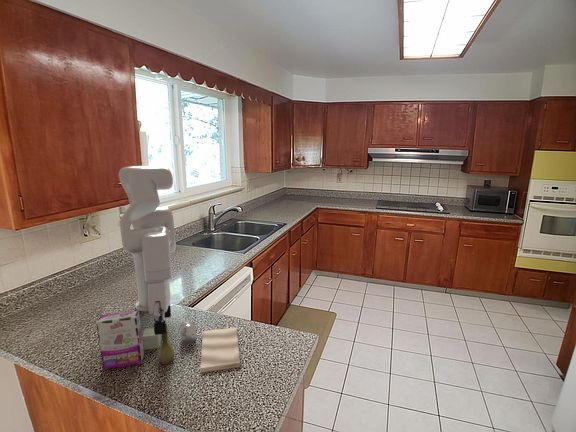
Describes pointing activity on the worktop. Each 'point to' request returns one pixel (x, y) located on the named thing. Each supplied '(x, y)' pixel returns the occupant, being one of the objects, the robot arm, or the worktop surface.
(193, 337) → the glass globe
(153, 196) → the robot arm
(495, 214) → the worktop surface
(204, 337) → the birch board
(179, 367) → the worktop surface
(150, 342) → the sage cube
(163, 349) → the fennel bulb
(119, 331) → the candy bar box
